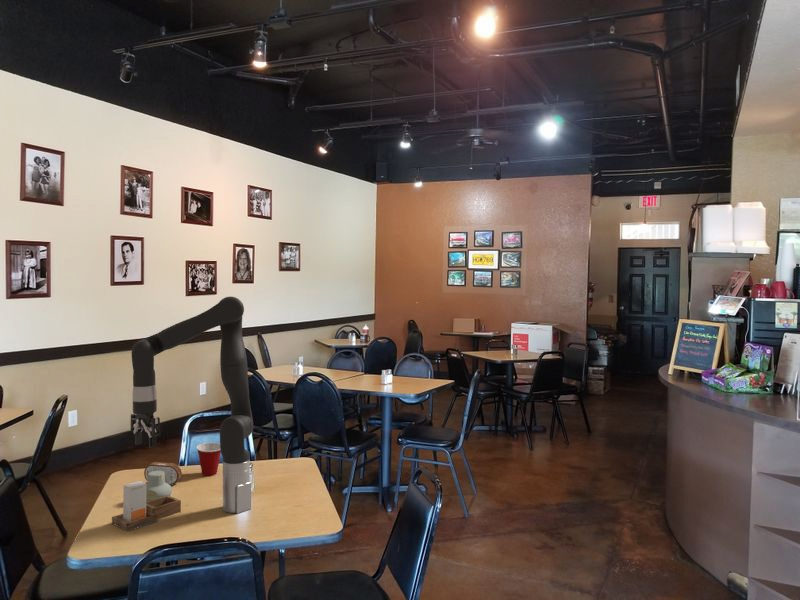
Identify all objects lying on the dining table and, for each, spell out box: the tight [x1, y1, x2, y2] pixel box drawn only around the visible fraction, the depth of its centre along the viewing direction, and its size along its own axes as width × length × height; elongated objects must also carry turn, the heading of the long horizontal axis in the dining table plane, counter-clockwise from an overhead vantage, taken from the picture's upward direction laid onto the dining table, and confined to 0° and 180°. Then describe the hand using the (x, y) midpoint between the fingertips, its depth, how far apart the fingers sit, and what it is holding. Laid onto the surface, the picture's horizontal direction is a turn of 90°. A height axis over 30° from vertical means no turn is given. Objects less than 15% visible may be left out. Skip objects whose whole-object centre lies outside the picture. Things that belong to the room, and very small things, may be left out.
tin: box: [143, 461, 183, 486], centre depth 238 cm, size 15×3×8 cm, turn 81°
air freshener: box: [146, 471, 173, 502], centre depth 220 cm, size 11×8×10 cm
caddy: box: [111, 495, 182, 532], centre depth 203 cm, size 10×20×4 cm, turn 143°
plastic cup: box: [196, 442, 222, 477], centre depth 250 cm, size 11×11×12 cm
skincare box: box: [122, 480, 147, 523], centre depth 199 cm, size 6×4×12 cm
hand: (145, 446), depth 204 cm, fingers open, 8 cm apart
